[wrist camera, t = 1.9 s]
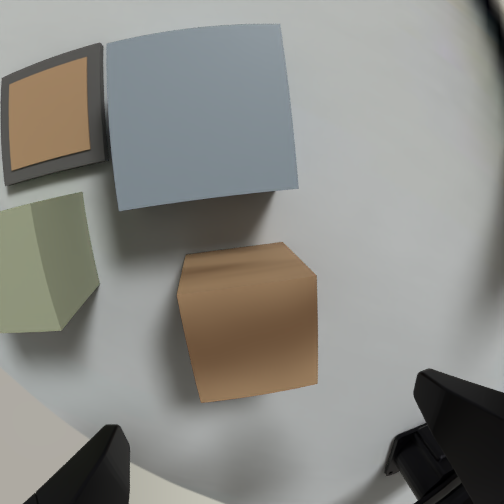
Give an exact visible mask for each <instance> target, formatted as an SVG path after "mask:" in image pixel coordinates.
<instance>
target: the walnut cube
mask: <svg viewBox="0 0 504 504" xmlns="http://www.w3.org/2000/svg"><path fill="white" fill-rule="evenodd" d="M177 299H178V304H179V309H180V314H181V319H182V324H183V329H184V333H185V338H186V343H187V347H188V352H189V356H190V360H191V365H192V369H193V373H194V377H195V381H196V385H197V389H198V393H199V397H200V401H201V403H205V402H214V401H222V400H229V399H237V398H244V397H250V396H257V395H263V394H269V393H274V392H280V391H285V390H290V389H295V388H300V387H305V386H310V385H314V384H317V383H318V314H317V276H316V275H315V274H314V273H313V272H312V271H311V270H310V269H309V268H308V267H307V266H306V265H305V264H304V263H303V262H302V261H301V260H300V259H299V258H298V257H297V256H296V255H295V254H294V253H293V252H292V251H291V250H290V249H289V248H288V247H287V246H286V245H285V244H284V243H283V242H279V243H271V244H263V245H255V246H247V247H240V248H232V249H224V250H216V251H209V252H201V253H193V254H186V256H185V260H184V264H183V269H182V273H181V278H180V282H179V287H178V291H177Z"/></svg>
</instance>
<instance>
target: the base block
mask: <svg viewBox="0 0 504 504" xmlns="http://www.w3.org/2000/svg"><path fill="white" fill-rule="evenodd" d="M107 97H108V116H109V130H110V142H111V153H112V162H113V171H114V180H115V188H116V195H117V202H118V209H119V211H124V210H130V209H136V208H143V207H149V206H156V205H163V204H170V203H177V202H184V201H191V200H199V199H207V198H215V197H223V196H231V195H240V194H249V193H259V192H268V191H278V190H289V189H299V188H298V175H297V164H296V153H295V142H294V132H293V123H292V113H291V104H290V95H289V87H288V79H287V71H286V63H285V55H284V48H283V41H282V34H281V27H280V24H238V25H221V26H208V27H198V28H189V29H181V30H174V31H167V32H161V33H155V34H149V35H144V36H139V37H134V38H129V39H125V40H120V41H116V42H112V43H108V44H107Z"/></svg>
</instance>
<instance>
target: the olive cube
mask: <svg viewBox="0 0 504 504" xmlns="http://www.w3.org/2000/svg"><path fill="white" fill-rule="evenodd" d="M99 284H100V283H99V278H98V274H97V270H96V265H95V261H94V256H93V251H92V246H91V241H90V236H89V231H88V225H87V219H86V213H85V207H84V200H83V193H82V192H79V193H74V194H69V195H65V196H60V197H56V198H51V199H47V200H43V201H39V202H34V203H30V204H26V205H22V206H19V207H15V208H11V209H7V210H4V211H0V333H23V332H47V331H62V329H63V328H64V327H65V326H66V324H67V323H68V322H69V321H70V319H71V318H72V317H73V316H74V314H75V313H76V312H77V311H78V310H79V308H80V307H81V306H82V305H83V303H84V302H85V301H86V300H87V299H88V297H89V296H90V295H91V294H92V293H93V291H94V290H95V289H96V288H97V287H98V286H99Z"/></svg>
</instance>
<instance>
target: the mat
mask: <svg viewBox="0 0 504 504" xmlns="http://www.w3.org/2000/svg"><path fill="white" fill-rule="evenodd" d="M1 145H2V161H3V172H4V182H5V186H8V185H13V184H16V183H20V182H23V181H26V180H30V179H34V178H37V177H41V176H45V175H48V174H52V173H56V172H60V171H64V170H68V169H73V168H77V167H81V166H86V165H90V164H95V163H100V162H104V161H109V159H108V149H107V138H106V125H105V109H104V85H103V46H102V44H101V43H97V44H93V45H89V46H86V47H83V48H79V49H76V50H73V51H70V52H67V53H63V54H61V55H58V56H55V57H52V58H49V59H46V60H44V61H41V62H38V63H36V64H33V65H31V66H28V67H26V68H23V69H21V70H19V71H16V72H14V73H12V74H10V75H7V76H5V77H3V78H2V85H1Z"/></svg>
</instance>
